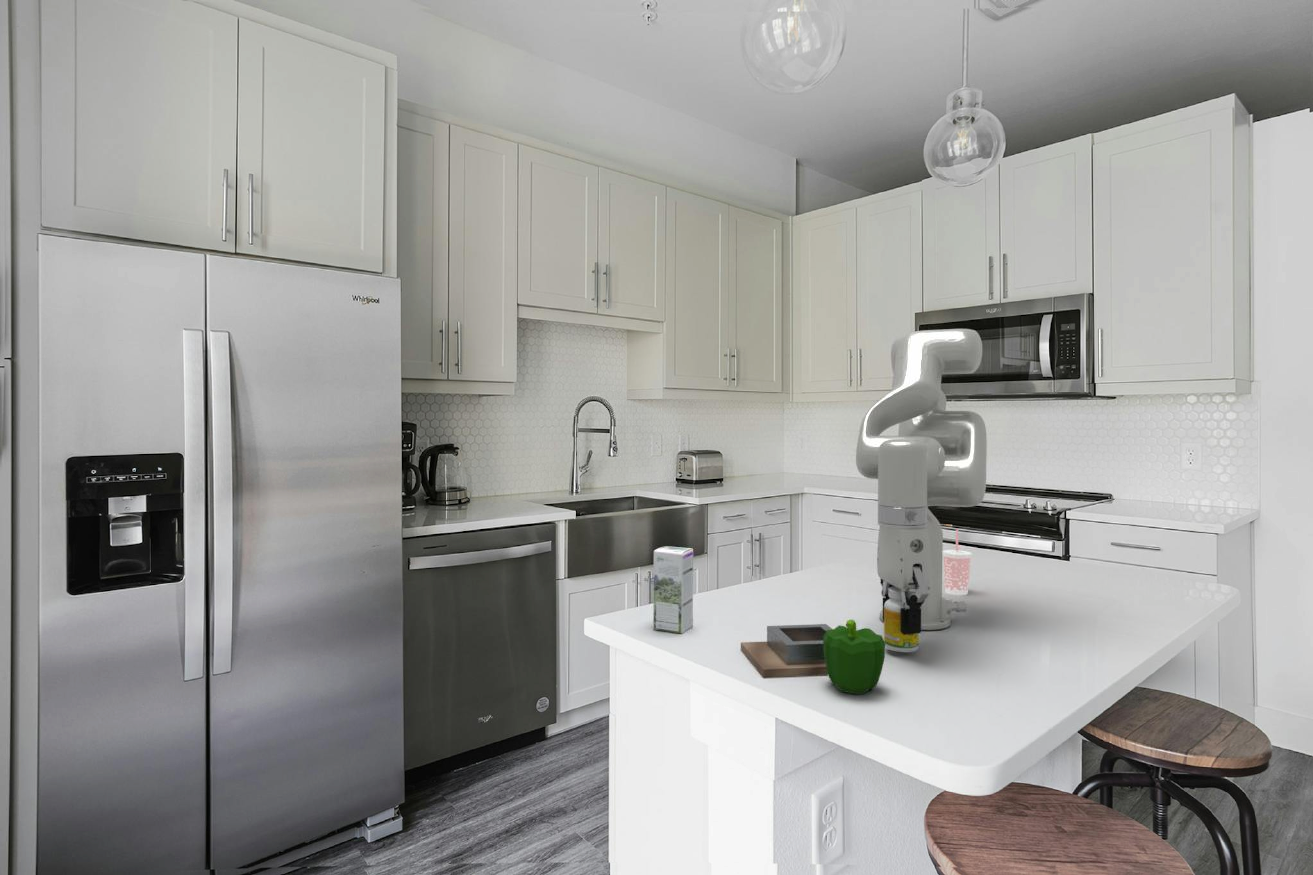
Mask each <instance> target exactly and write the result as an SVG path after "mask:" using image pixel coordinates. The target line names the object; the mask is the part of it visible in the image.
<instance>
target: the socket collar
mask: <svg viewBox="0 0 1313 875" xmlns="http://www.w3.org/2000/svg"><path fill="white" fill-rule="evenodd" d="M833 629H834V628H832V627H830V626H829V625H828V624H827V623H820V624H818V623H816V624H814V623H813V624H788V625H786V624H785V625H767V627H766V641H767V645H768V646H769V647H770V648H771V649H772V650H773V651H774V652H775V653H776V654H777V655H778V656H779V657H780V659H781V660H782V661H783V662H784V663H785V664H786V665H797V664H821V663H825V657H824V652H823V637H824V635H825V632H826V630H833Z"/></svg>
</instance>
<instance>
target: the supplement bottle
mask: <svg viewBox="0 0 1313 875" xmlns="http://www.w3.org/2000/svg"><path fill="white" fill-rule="evenodd" d="M908 589H911V588H908ZM912 595H915V594H914V593H908V598H909V599H910V597H911V596H912ZM888 596H889V598H890V599H889V600H887V601H886V602H885V604H884V621H883V627H884V628H883V633H884V634H883V636H884V637H883V640H884V642H885V648H887V649H888V650H890V651H893V652H894V651H895V652H899V653H912V652H915V651H917V650H918V649H919V641H920V640H919V637H920V635H919V634H920V633H915V634H903V633H901V632H900V615H901V608H903V602H902V595H901V590H900V589H898V588H897V587H895V586H893V587H890V588H889V589H888Z"/></svg>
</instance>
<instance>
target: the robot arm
mask: <svg viewBox="0 0 1313 875" xmlns="http://www.w3.org/2000/svg"><path fill="white" fill-rule="evenodd" d="M982 357H983V342H982V339H981V336H980V334H979V333H978V331H977V330H974V329H970V328H949V329H948V328H947V329H944V328H943V329H927V330H926V329H925V330H924V329H923V330H917V331H916V330H915V331H912V332H910V333H907V334H904V335H901V336H899V337H898V338H897V337H896V339H894V341H893V343H892V346H891V350H890V359H891V368H892V373H893V376H892V382H891V390H890V391H889V392H888V393H886V394H885V395H883V396H882V397H880V398H879V399H878V400H877V401H876V402H875V403H874V404H873V405H872V406H871V407H870V408H869V409H868V410H867V412H866V413H865V415H864V417H863V418H862V421H861V423H860V428H859V431H858V432H859V433H858V438H857V444H856V450H855V462H856V463H855V464H856V468H857V470H858V472H859V473H860V475H862V477H865V478H867V479H871V480H872V479H875V480H877V525H878V526H879V529H878V538H877V539H878V540H877V551H876V552H877V554H876V567H877V575H878V577H879V580H880V582H879V583H880V585H881V596H882V609H881V610H880V611H879V619H880V620H881V621H882V622H884V604H885V602H886V601H887V600H889V599H890V598H889V596H888V589H889V588H890V587H893V586H895V587H897V588H898V589H900V590H901V595H902V602H903V608H901V615H900V632H901V633H903V634H915V633H919V634H921V631H934V630H935V631H936V630H942V629H946V628H948V627H950V626H951V625H952V622H951V620H952V619H951V617H950V616H949V615H950V614H951V613H952V612H955V613H959V612H960V613H963V612H964V613H965V612H967V609H968V607H967V603H966V602H965V601H962V600H960V601H957V600H956V601H953V600H952V599H946V598H944V597H943V558H944V556H943V551H944V550H943V549H944V548H943V547H944V546H943V545H944V542H943V541H944V533H943V527H942V525H941V522H940V521H939V520H938V519H937V517H936V516H935V515H934V514H933V512H932V511H931V510H930V509H929V508H928V507H935V506H936V507H937V506H938V507H952V508H953V507H955V508H960V507H962V508H972V507H976V506H979V505H980V504H981V503H982V502H983V500H984V497H985V494H986V489H987V488H986V486H987V450H988V449H987V445H988V442H987V441H988V438H987V429H986V428H987V427H986V425H985V421H984V419H983V417H982V416H981V415H980V414H979V413H977V412H975V411H971V410H947V397H946V394H945V392H943V390H942V375H962V374H963V375H965V374H968V375H969V374H974V373H975V372H976V371H977V370H978V369H979V367H980V365H981V363H982V359H983V358H982ZM896 425H898V434H897V435H881V434H882V433H883V432H884V431H886V430H887V429H889V428H891V427H893V426H896ZM908 588H911V589H908ZM908 593H914V594H915V595H912V596H911V597H910V599H909V598H908Z"/></svg>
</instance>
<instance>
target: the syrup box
mask: <svg viewBox="0 0 1313 875" xmlns="http://www.w3.org/2000/svg"><path fill="white" fill-rule="evenodd" d="M693 594H694V549H693V548H691V547H681V546H680V547H677V546H667V545H665V546H661V547H657V548H656V549H654V550H653V630H654V631H661V632H667V633H668V632H670V633H676V634H683V633H685V632H686V631H688V630H690V629H691V628H692V627H693V625H694V608H693V607H694V601H693V600H694V598H693V596H694V595H693Z"/></svg>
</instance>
